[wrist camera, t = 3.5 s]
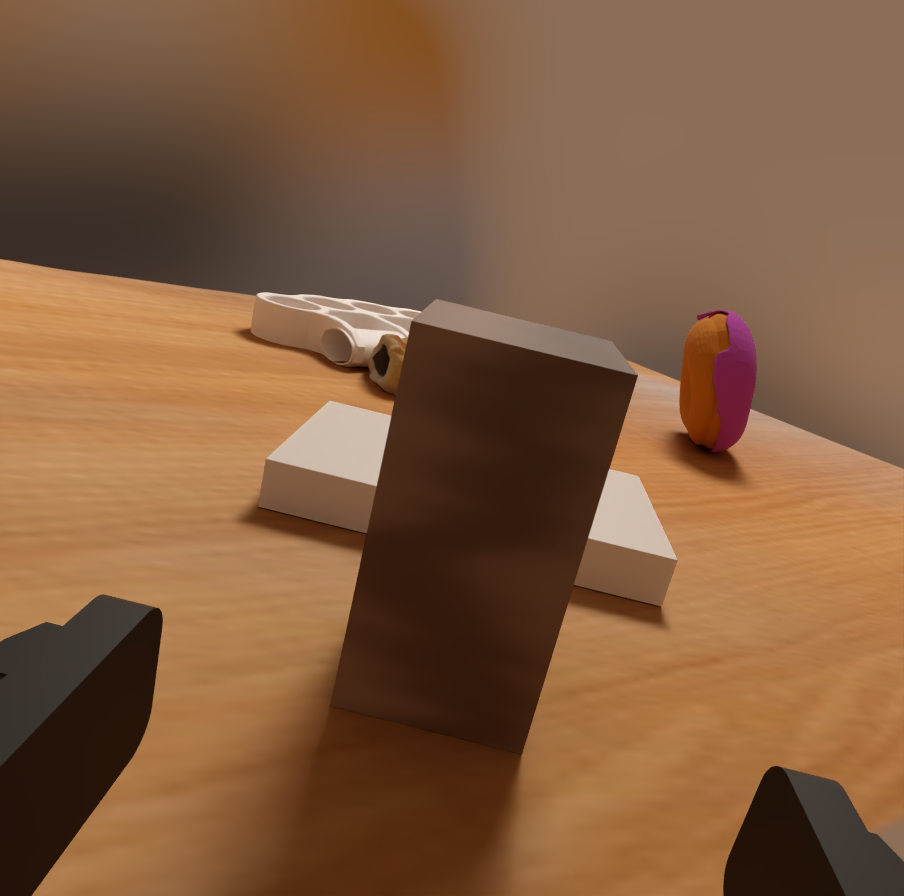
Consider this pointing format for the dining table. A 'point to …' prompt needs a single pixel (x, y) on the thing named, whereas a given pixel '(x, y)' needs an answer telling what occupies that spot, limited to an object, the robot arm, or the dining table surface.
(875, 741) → the dining table surface
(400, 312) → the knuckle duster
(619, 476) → the plastic platform
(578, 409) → the walnut block
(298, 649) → the dining table surface
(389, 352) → the pastry
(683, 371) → the donut
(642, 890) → the dining table surface
